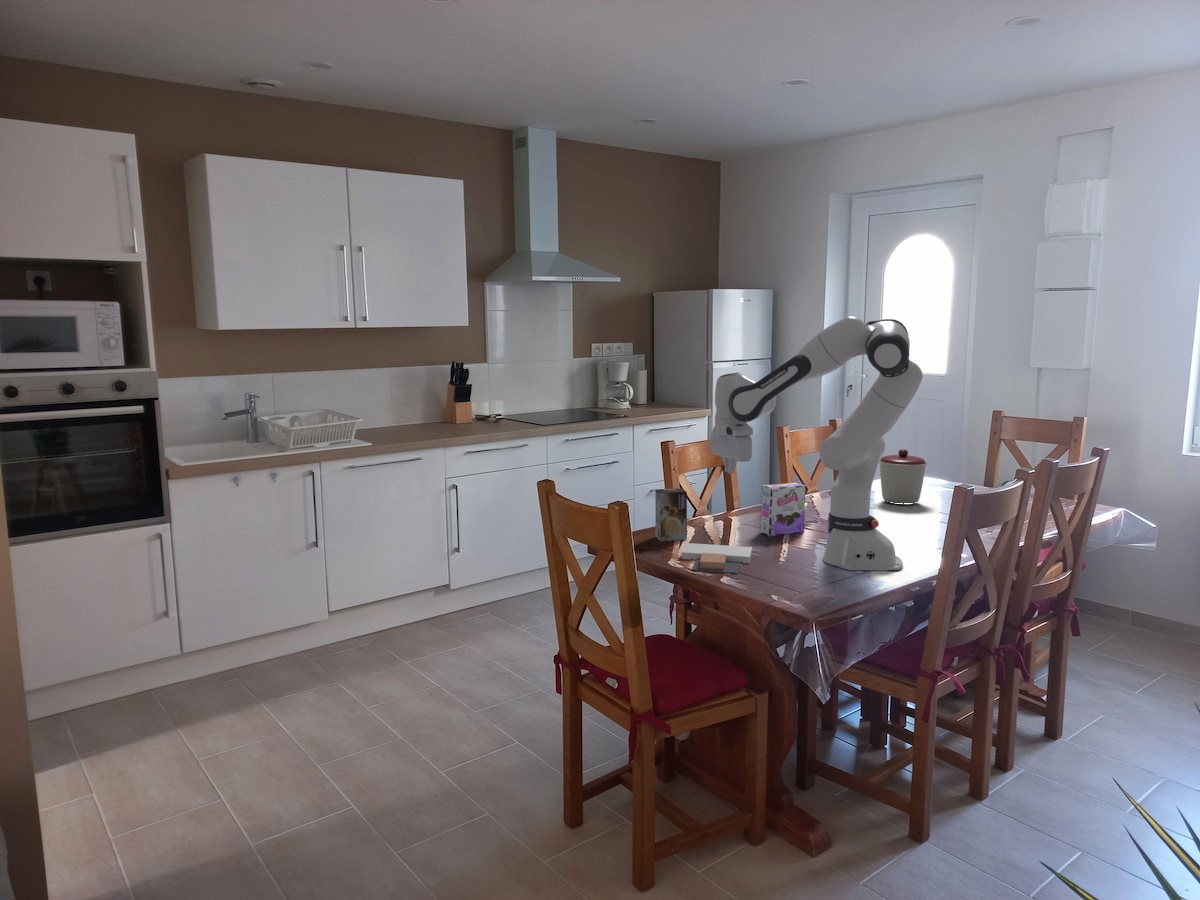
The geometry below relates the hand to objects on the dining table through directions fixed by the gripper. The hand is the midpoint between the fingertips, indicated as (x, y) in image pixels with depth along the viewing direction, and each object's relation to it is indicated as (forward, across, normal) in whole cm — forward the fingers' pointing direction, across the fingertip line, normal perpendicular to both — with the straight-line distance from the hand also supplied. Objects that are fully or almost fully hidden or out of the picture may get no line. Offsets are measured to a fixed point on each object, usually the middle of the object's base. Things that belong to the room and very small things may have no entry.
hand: (729, 472), depth 258 cm
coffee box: (+25, -23, -9) cm, 35 cm away
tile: (+25, +10, -11) cm, 29 cm away
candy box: (+25, -17, +29) cm, 42 cm away
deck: (+25, +1, -5) cm, 26 cm away
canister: (+26, -42, +97) cm, 109 cm away
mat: (+25, +12, -10) cm, 30 cm away
